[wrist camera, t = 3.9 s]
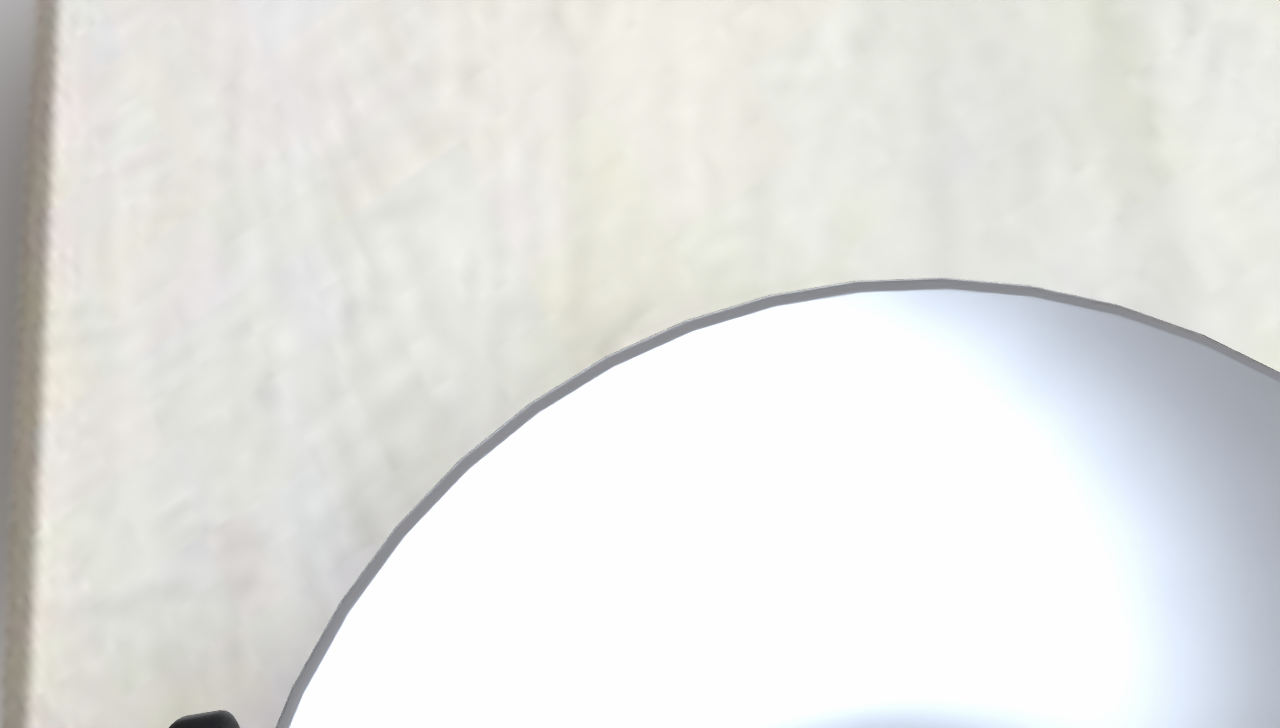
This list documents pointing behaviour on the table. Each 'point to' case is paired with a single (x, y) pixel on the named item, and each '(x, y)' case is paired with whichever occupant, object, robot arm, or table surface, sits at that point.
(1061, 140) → the table surface
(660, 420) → the grey upright cylinder
